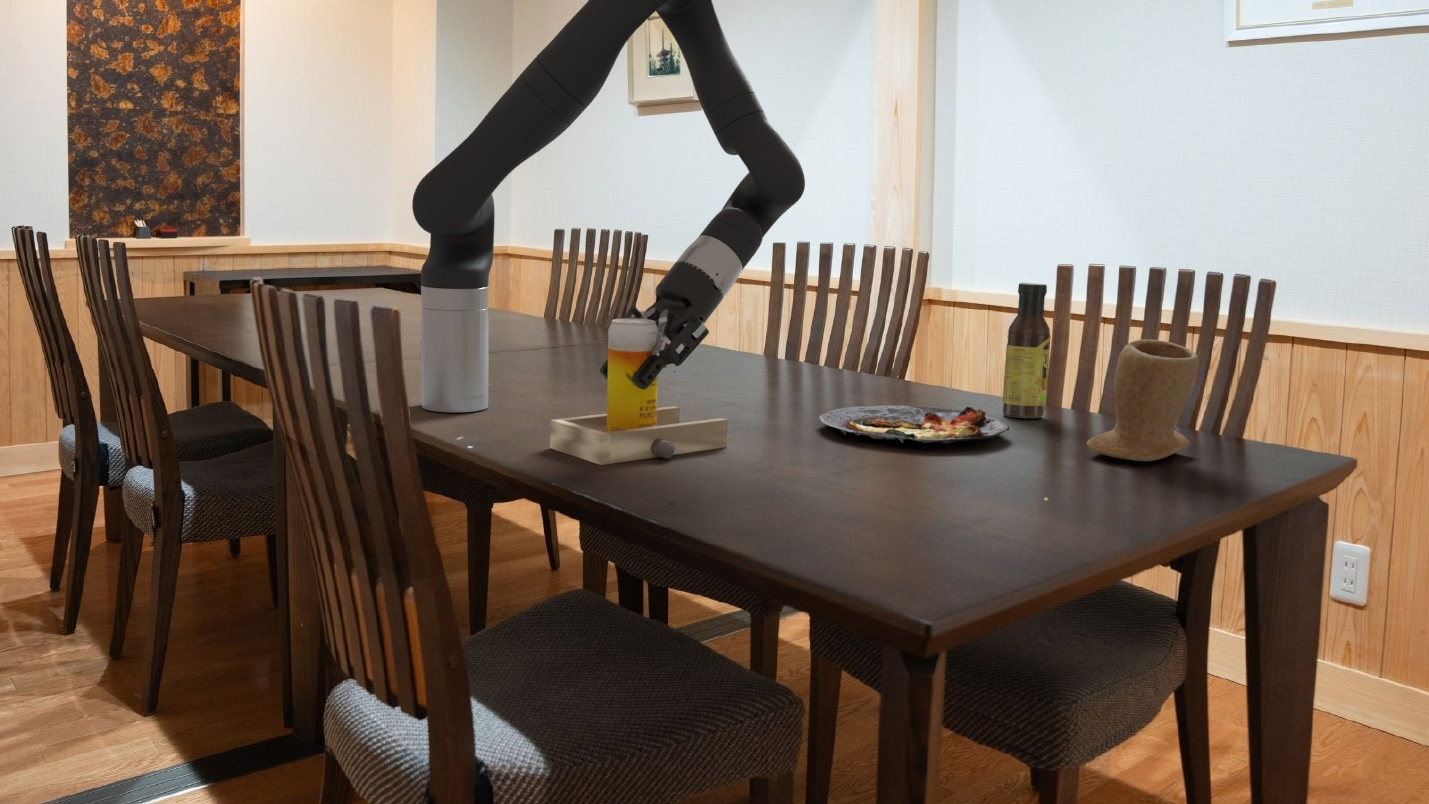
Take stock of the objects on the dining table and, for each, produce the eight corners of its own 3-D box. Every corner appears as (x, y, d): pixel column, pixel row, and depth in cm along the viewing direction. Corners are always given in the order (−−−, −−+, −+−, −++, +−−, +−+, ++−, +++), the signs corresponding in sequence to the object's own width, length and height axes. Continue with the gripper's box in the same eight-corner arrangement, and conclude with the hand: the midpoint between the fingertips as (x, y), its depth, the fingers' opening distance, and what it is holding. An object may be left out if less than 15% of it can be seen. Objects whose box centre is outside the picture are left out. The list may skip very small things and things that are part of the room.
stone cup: (1165, 474, 146) (1178, 350, 143) (1073, 457, 154) (1084, 339, 151) (1213, 457, 157) (1225, 342, 154) (1125, 442, 165) (1135, 332, 162)
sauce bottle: (1048, 421, 178) (1059, 285, 174) (1005, 419, 178) (1015, 284, 175) (1039, 413, 184) (1050, 282, 181) (998, 411, 184) (1008, 280, 181)
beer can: (649, 449, 145) (651, 324, 143) (600, 445, 146) (602, 322, 144) (661, 439, 151) (664, 319, 149) (614, 435, 152) (616, 317, 150)
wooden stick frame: (541, 445, 149) (541, 417, 148) (663, 429, 161) (664, 403, 161) (611, 468, 138) (611, 438, 137) (737, 449, 150) (738, 422, 150)
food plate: (1023, 429, 170) (1024, 404, 170) (986, 462, 149) (987, 434, 149) (853, 415, 181) (854, 391, 180) (797, 443, 160) (797, 417, 159)
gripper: (648, 255, 155) (569, 353, 149) (721, 263, 144) (639, 368, 139) (679, 295, 159) (604, 392, 154) (752, 306, 149) (674, 410, 143)
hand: (621, 380), depth 146 cm, fingers closed on beer can, 6 cm apart
